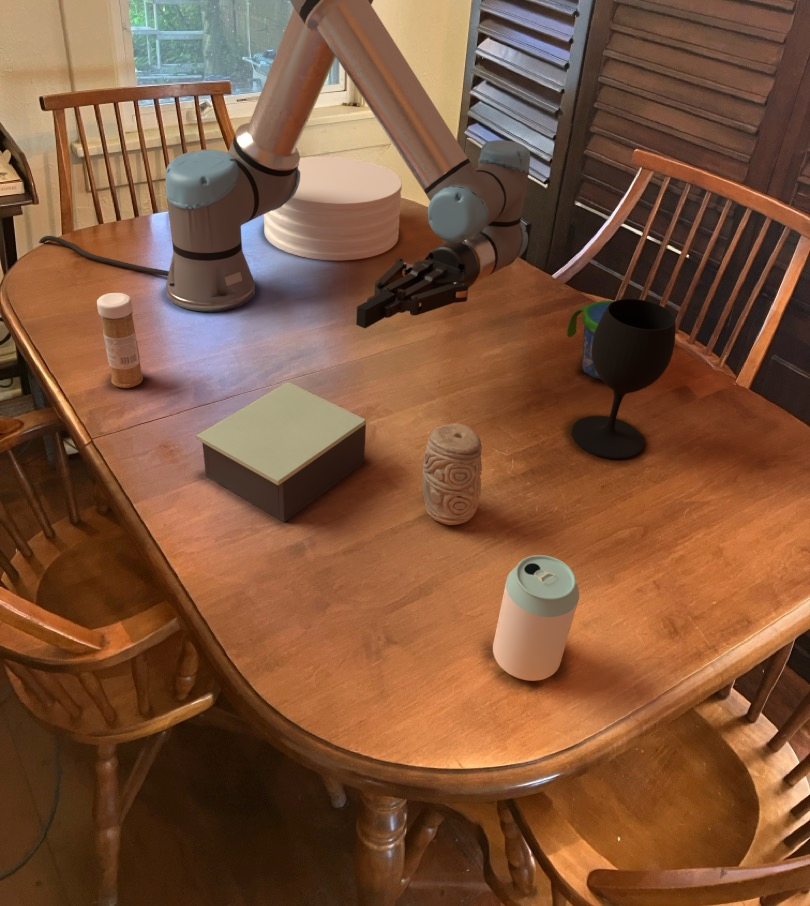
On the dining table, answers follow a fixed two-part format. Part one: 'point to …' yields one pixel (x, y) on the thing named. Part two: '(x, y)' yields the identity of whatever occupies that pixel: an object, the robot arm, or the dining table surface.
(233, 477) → the dark grey box
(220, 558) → the dining table surface
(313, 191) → the plate stack
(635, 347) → the wine glass
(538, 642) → the can
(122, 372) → the sprinkles bottle
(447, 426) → the carving
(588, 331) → the snack cup
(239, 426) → the cover
